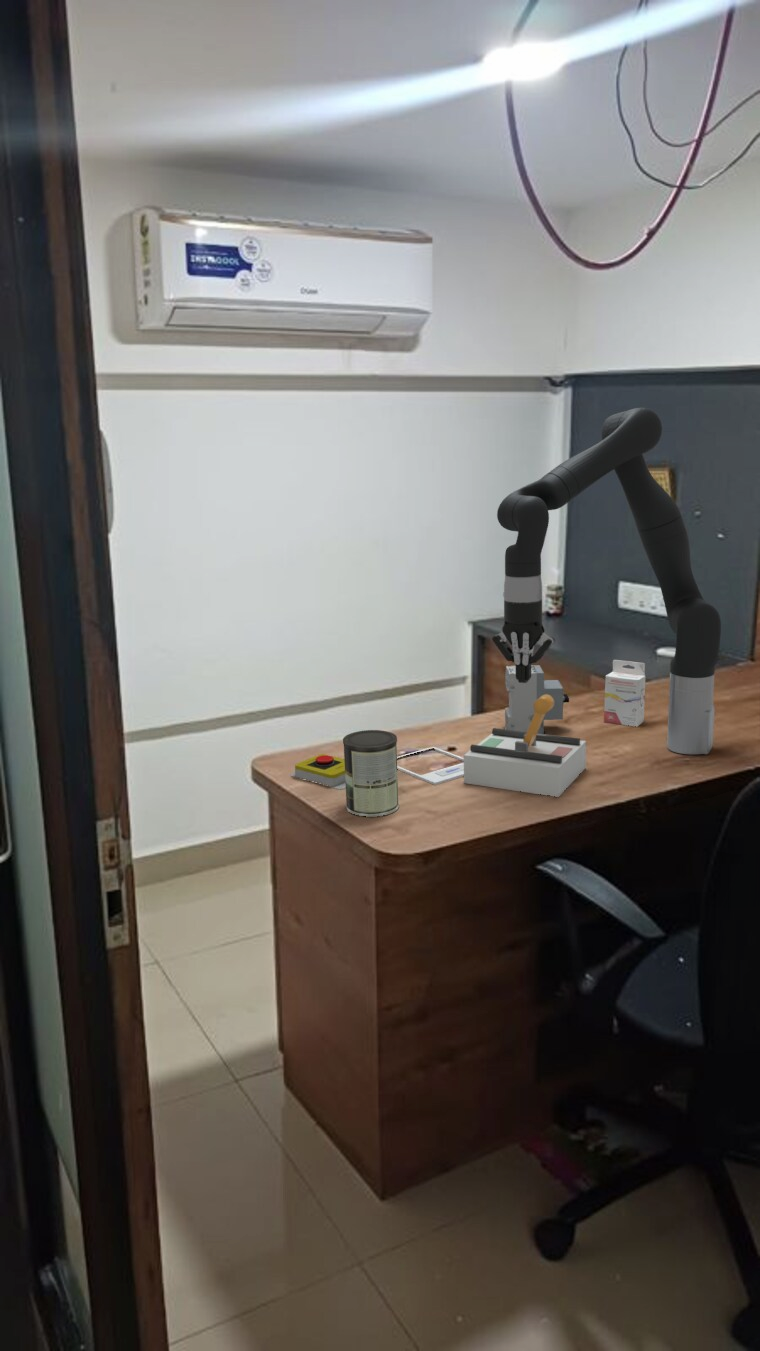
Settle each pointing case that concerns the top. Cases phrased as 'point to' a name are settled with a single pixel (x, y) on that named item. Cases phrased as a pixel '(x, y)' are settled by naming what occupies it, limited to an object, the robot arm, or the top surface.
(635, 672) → the ink cartridge box
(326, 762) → the emergency button
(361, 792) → the coffee can
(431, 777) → the photo frame
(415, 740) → the top surface
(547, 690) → the circuit breaker
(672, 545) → the robot arm
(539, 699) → the lever
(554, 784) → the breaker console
